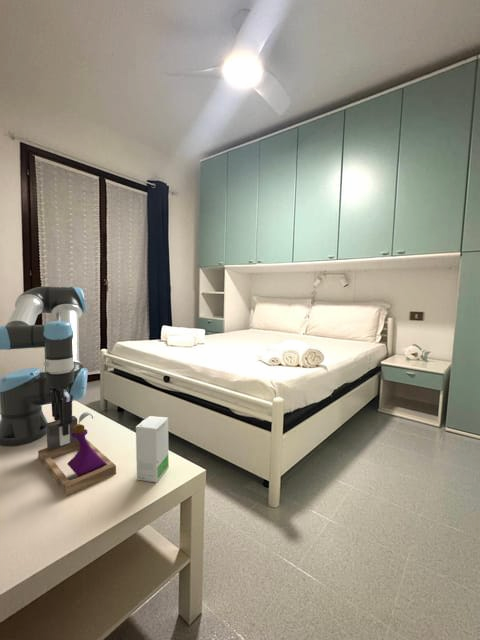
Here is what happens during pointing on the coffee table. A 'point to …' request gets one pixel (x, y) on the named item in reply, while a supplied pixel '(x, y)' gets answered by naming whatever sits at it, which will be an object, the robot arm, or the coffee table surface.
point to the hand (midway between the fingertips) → (62, 441)
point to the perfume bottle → (84, 452)
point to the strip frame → (57, 450)
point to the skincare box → (152, 448)
